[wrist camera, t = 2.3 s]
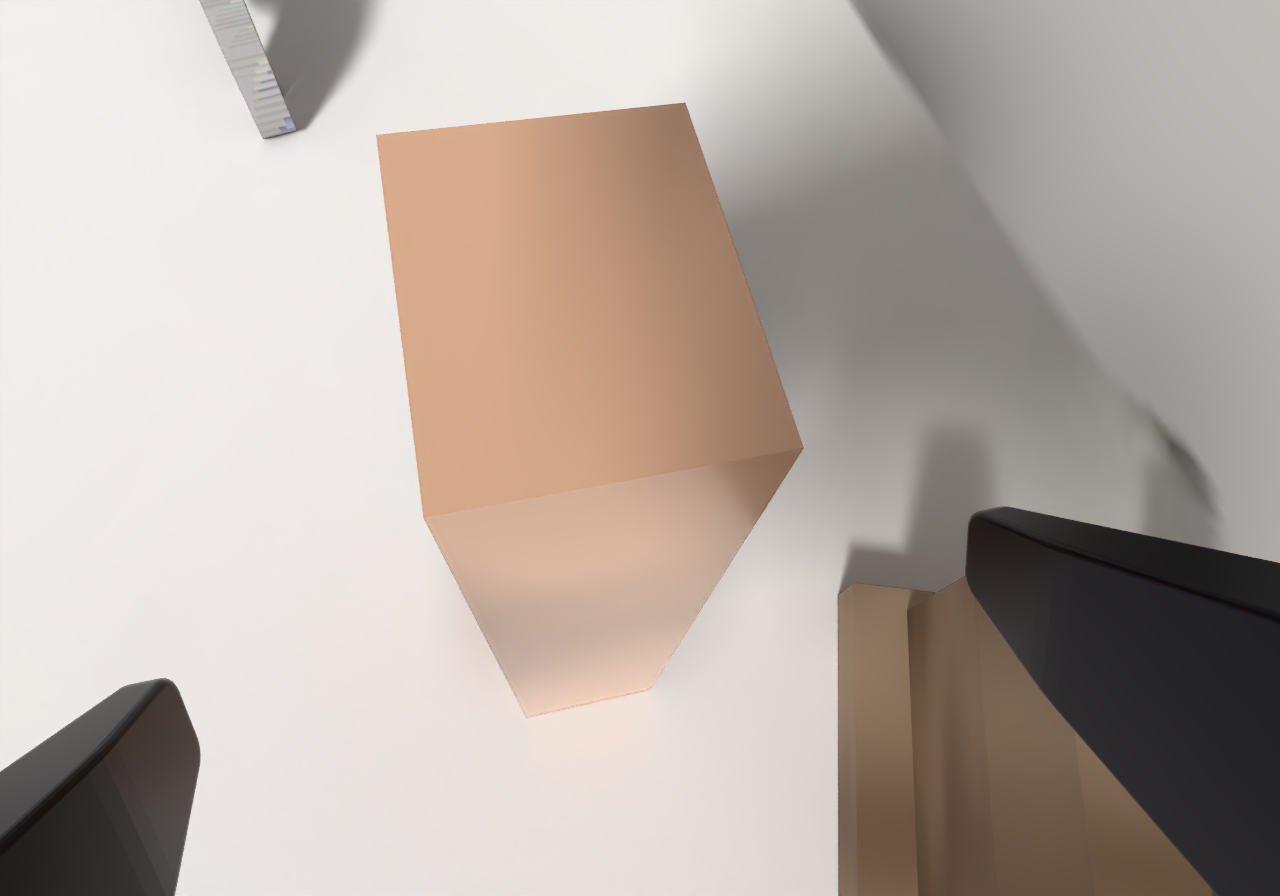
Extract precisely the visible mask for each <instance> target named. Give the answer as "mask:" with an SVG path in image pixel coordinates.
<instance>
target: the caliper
mask: <svg viewBox="0 0 1280 896" xmlns="http://www.w3.org/2000/svg"><path fill="white" fill-rule="evenodd" d="M199 1H200V3H201V6H202V8H203V10H204V12H205V15H206V17H207V19H208V21H209V23H210V26H211V28H212V30H213V32H214V35H215V37H216V39H217V41H218V43H219V46H220V48H221V50H222V52H223V55H224V57H225V59H226V61H227V63H228V65H229V67H230V70H231V72H232V74H233V76H234V78H235V80H236V82H237V85H238V87H239V89H240V91H241V93H242V95H243V97H244V100H245V102H246V104H247V106H248V108H249V110H250V112H251V115H252V117H253V119H254V121H255V123H256V125H257V127H258V129H259V132H260V134H261V136H262V138H263V139H266V138H269V137H273V136H277V135H281V134H285V133H288V132H292V131H296V128H295V125H294V123H293V121H292V118H291V116H290V113H289V111H288V108H287V106H286V104H285V101H284V98H283V95H282V93H281V90H280V88H279V85H278V83H277V80H276V78H275V75H274V73H273V70H272V68H271V65H270V63H269V61H268V58H267V56H266V53H265V51H264V48H263V46H262V43H261V41H260V38H259V36H258V34H257V31H256V29H255V26H254V24H253V21H252V19H251V16H250V14H249V11H248V9H247V7H246V4H245V2H244V0H199Z"/></svg>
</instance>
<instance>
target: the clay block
mask: <svg viewBox="0 0 1280 896" xmlns="http://www.w3.org/2000/svg"><path fill="white" fill-rule="evenodd" d="M376 137H377V145H378V153H379V161H380V169H381V178H382V186H383V194H384V202H385V210H386V218H387V226H388V234H389V242H390V250H391V258H392V266H393V274H394V283H395V291H396V299H397V307H398V315H399V323H400V331H401V339H402V347H403V355H404V363H405V371H406V379H407V388H408V396H409V404H410V412H411V420H412V428H413V436H414V444H415V452H416V460H417V468H418V476H419V484H420V493H421V501H422V509H423V517H424V520H425V521H426V523H427V525H428V527H429V529H430V531H431V533H432V535H433V537H434V539H435V541H436V543H437V545H438V547H439V549H440V551H441V553H442V555H443V557H444V558H445V560H446V562H447V564H448V566H449V568H450V570H451V572H452V574H453V576H454V578H455V580H456V582H457V584H458V586H459V588H460V590H461V592H462V594H463V595H464V597H465V599H466V601H467V603H468V605H469V607H470V609H471V611H472V613H473V615H474V617H475V619H476V621H477V623H478V625H479V627H480V629H481V631H482V632H483V634H484V636H485V638H486V640H487V642H488V644H489V646H490V648H491V650H492V652H493V654H494V656H495V658H496V660H497V662H498V664H499V666H500V667H501V669H502V671H503V673H504V675H505V677H506V679H507V681H508V683H509V685H510V687H511V689H512V691H513V693H514V695H515V697H516V699H517V701H518V703H519V704H520V706H521V708H522V710H523V712H524V714H525V716H526V718H527V717H532V716H536V715H541V714H545V713H549V712H554V711H558V710H562V709H567V708H571V707H575V706H580V705H584V704H589V703H593V702H597V701H602V700H606V699H610V698H615V697H619V696H624V695H628V694H632V693H637V692H641V691H645V690H650V689H651V687H652V686H653V684H654V682H655V681H656V679H657V678H658V676H659V675H660V673H661V671H662V670H663V668H664V667H665V665H666V664H667V662H668V660H669V659H670V657H671V656H672V654H673V653H674V651H675V649H676V648H677V646H678V645H679V643H680V642H681V640H682V638H683V637H684V635H685V634H686V632H687V631H688V629H689V627H690V626H691V624H692V623H693V621H694V620H695V618H696V616H697V615H698V613H699V612H700V610H701V609H702V607H703V605H704V604H705V602H706V601H707V599H708V598H709V596H710V594H711V593H712V591H713V590H714V588H715V587H716V585H717V583H718V582H719V580H720V579H721V577H722V576H723V574H724V572H725V571H726V569H727V568H728V566H729V565H730V563H731V561H732V560H733V558H734V557H735V555H736V554H737V552H738V550H739V549H740V547H741V546H742V544H743V543H744V541H745V539H746V538H747V536H748V535H749V533H750V532H751V530H752V528H753V527H754V525H755V524H756V522H757V521H758V519H759V517H760V516H761V514H762V513H763V511H764V510H765V508H766V506H767V505H768V503H769V502H770V500H771V498H772V497H773V495H774V494H775V492H776V491H777V489H778V487H779V486H780V484H781V483H782V481H783V480H784V478H785V476H786V475H787V473H788V472H789V470H790V469H791V467H792V465H793V464H794V462H795V461H796V459H797V458H798V456H799V454H800V453H801V451H802V450H803V445H802V442H801V439H800V436H799V434H798V431H797V428H796V425H795V422H794V419H793V416H792V413H791V410H790V407H789V404H788V401H787V398H786V396H785V393H784V390H783V387H782V384H781V381H780V378H779V375H778V372H777V369H776V366H775V363H774V360H773V358H772V355H771V352H770V349H769V346H768V343H767V340H766V337H765V334H764V331H763V328H762V325H761V322H760V320H759V317H758V314H757V311H756V308H755V305H754V302H753V299H752V296H751V293H750V290H749V287H748V285H747V282H746V279H745V276H744V273H743V270H742V267H741V264H740V261H739V258H738V255H737V252H736V249H735V247H734V244H733V241H732V238H731V235H730V232H729V229H728V226H727V223H726V220H725V217H724V214H723V211H722V209H721V206H720V203H719V200H718V197H717V194H716V191H715V188H714V185H713V182H712V179H711V176H710V174H709V171H708V168H707V165H706V162H705V159H704V156H703V153H702V150H701V147H700V144H699V141H698V138H697V136H696V133H695V130H694V127H693V124H692V121H691V118H690V115H689V112H688V109H687V106H686V103H678V104H669V105H659V106H649V107H640V108H630V109H621V110H611V111H602V112H592V113H583V114H573V115H563V116H554V117H544V118H535V119H525V120H516V121H506V122H496V123H487V124H477V125H468V126H458V127H449V128H439V129H430V130H420V131H410V132H401V133H391V134H382V135H376Z"/></svg>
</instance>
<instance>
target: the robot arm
mask: <svg viewBox="0 0 1280 896" xmlns="http://www.w3.org/2000/svg"><path fill="white" fill-rule="evenodd" d="M965 575H966V581H967V584H968V587H969V589H970V591H971V593H972V595H973V596H974V598H975V599H976V601H977V602H978V603H979V605H980V606H981V608H982V609H983V610H984V612H985V613H986V615H987V616H988V618H989V619H990V620H991V622H992V623H993V625H994V626H995V628H996V629H997V630H998V632H999V633H1000V635H1001V636H1002V637H1003V639H1004V640H1005V642H1006V643H1007V645H1008V646H1009V647H1010V649H1011V650H1012V652H1013V653H1014V654H1015V656H1016V657H1017V659H1018V660H1019V662H1020V663H1021V664H1022V666H1023V667H1024V669H1025V670H1026V672H1027V673H1028V674H1029V676H1030V677H1031V678H1032V680H1033V681H1034V682H1035V684H1036V685H1037V686H1038V688H1039V689H1040V690H1041V692H1042V693H1043V694H1044V695H1045V697H1046V698H1047V699H1048V700H1049V701H1050V703H1051V704H1052V705H1053V706H1054V708H1055V709H1056V710H1057V711H1058V712H1059V713H1060V715H1061V716H1062V717H1063V718H1064V719H1065V720H1066V722H1067V723H1068V724H1069V725H1070V726H1071V727H1072V728H1073V730H1074V731H1075V732H1076V733H1077V734H1078V735H1079V737H1080V738H1081V739H1082V740H1083V741H1084V742H1085V743H1086V745H1087V746H1088V747H1089V748H1090V749H1091V750H1092V752H1093V753H1094V754H1095V755H1096V756H1097V757H1098V759H1099V760H1100V761H1101V762H1102V763H1103V764H1104V765H1105V767H1106V768H1107V769H1108V770H1109V771H1110V772H1111V774H1112V775H1113V776H1114V777H1115V778H1116V779H1117V780H1118V782H1119V783H1120V784H1121V785H1122V786H1123V787H1124V789H1125V790H1126V791H1127V792H1128V793H1129V794H1130V796H1131V797H1132V798H1133V799H1134V800H1135V801H1136V802H1137V804H1138V805H1139V806H1140V807H1141V808H1142V809H1143V811H1144V812H1145V813H1146V814H1147V815H1148V816H1149V817H1150V819H1151V820H1152V821H1153V822H1154V823H1155V824H1156V826H1157V827H1158V828H1159V829H1160V830H1161V831H1162V833H1163V834H1164V835H1165V836H1166V837H1167V838H1168V839H1169V841H1170V842H1171V843H1172V844H1173V845H1174V846H1175V848H1176V849H1177V850H1178V851H1179V852H1180V853H1181V854H1182V856H1183V857H1184V858H1185V859H1186V860H1187V861H1188V863H1189V864H1190V865H1191V866H1192V867H1193V868H1194V870H1195V871H1196V872H1197V873H1198V874H1199V875H1200V876H1201V878H1202V879H1203V880H1204V881H1205V882H1206V883H1207V885H1208V886H1209V887H1210V888H1211V889H1212V890H1213V891H1214V893H1215V894H1216V895H1217V896H1280V563H1277V562H1272V561H1267V560H1263V559H1258V558H1252V557H1248V556H1243V555H1239V554H1234V553H1229V552H1224V551H1219V550H1214V549H1210V548H1205V547H1200V546H1195V545H1190V544H1186V543H1181V542H1176V541H1171V540H1166V539H1161V538H1157V537H1152V536H1147V535H1142V534H1137V533H1133V532H1128V531H1123V530H1118V529H1113V528H1108V527H1104V526H1099V525H1094V524H1089V523H1084V522H1080V521H1075V520H1070V519H1065V518H1060V517H1055V516H1051V515H1046V514H1041V513H1036V512H1031V511H1027V510H1022V509H1017V508H1012V507H998V508H993V509H988V510H983V511H979V512H976V513H975V514H974V515H973V516H972V517H971V518H970V520H969V523H968V533H967V550H966V566H965ZM199 767H200V746H199V741H198V738H197V735H196V733H195V730H194V728H193V725H192V723H191V720H190V718H189V715H188V713H187V710H186V708H185V705H184V702H183V700H182V697H181V695H180V692H179V690H178V688H177V686H176V685H175V684H174V683H173V681H171V680H169V679H166V678H160V679H155V680H150V681H145V682H140V683H135V684H130V685H127V686H124V687H122V688H121V689H119V690H118V691H116V692H115V693H113V694H112V695H110V696H109V697H107V698H106V699H105V700H103V701H102V702H100V703H99V704H97V705H96V706H94V707H93V708H92V709H90V710H89V711H87V712H86V713H84V714H83V715H81V716H80V717H79V718H77V719H76V720H74V721H73V722H71V723H70V724H68V725H67V726H66V727H64V728H63V729H61V730H60V731H58V732H57V733H55V734H54V735H53V736H51V737H50V738H48V739H47V740H45V741H44V742H42V743H41V744H40V745H38V746H37V747H35V748H34V749H32V750H31V751H29V752H28V753H27V754H25V755H24V756H22V757H21V758H19V759H18V760H16V761H15V762H14V763H12V764H11V765H9V766H8V767H6V768H5V769H3V770H2V771H1V772H0V896H175V891H176V887H177V882H178V877H179V872H180V867H181V861H182V856H183V851H184V846H185V840H186V835H187V830H188V825H189V819H190V814H191V809H192V804H193V798H194V793H195V788H196V783H197V777H198V772H199Z"/></svg>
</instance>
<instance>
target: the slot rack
mask: <svg viewBox="0 0 1280 896" xmlns="http://www.w3.org/2000/svg"><path fill="white" fill-rule="evenodd" d="M838 847H839V896H1217V895H1216V894H1215V893H1214V891H1213V890H1212V889H1211V888H1210V887H1209V886H1208V885H1207V883H1206V882H1205V881H1204V880H1203V879H1202V878H1201V876H1200V875H1199V874H1198V873H1197V872H1196V871H1195V870H1194V868H1193V867H1192V866H1191V865H1190V864H1189V863H1188V861H1187V860H1186V859H1185V858H1184V857H1183V856H1182V854H1181V853H1180V852H1179V851H1178V850H1177V849H1176V848H1175V846H1174V845H1173V844H1172V843H1171V842H1170V841H1169V839H1168V838H1167V837H1166V836H1165V835H1164V834H1163V833H1162V831H1161V830H1160V829H1159V828H1158V827H1157V826H1156V824H1155V823H1154V822H1153V821H1152V820H1151V819H1150V817H1149V816H1148V815H1147V814H1146V813H1145V812H1144V811H1143V809H1142V808H1141V807H1140V806H1139V805H1138V804H1137V802H1136V801H1135V800H1134V799H1133V798H1132V797H1131V796H1130V794H1129V793H1128V792H1127V791H1126V790H1125V789H1124V787H1123V786H1122V785H1121V784H1120V783H1119V782H1118V780H1117V779H1116V778H1115V777H1114V776H1113V775H1112V774H1111V772H1110V771H1109V770H1108V769H1107V768H1106V767H1105V765H1104V764H1103V763H1102V762H1101V761H1100V760H1099V759H1098V757H1097V756H1096V755H1095V754H1094V753H1093V752H1092V750H1091V749H1090V748H1089V747H1088V746H1087V745H1086V743H1085V742H1084V741H1083V740H1082V739H1081V738H1080V737H1079V735H1078V734H1077V733H1076V732H1075V731H1074V730H1073V728H1072V727H1071V726H1070V725H1069V724H1068V723H1067V722H1066V720H1065V719H1064V718H1063V717H1062V716H1061V715H1060V713H1059V712H1058V711H1057V710H1056V709H1055V708H1054V706H1053V705H1052V704H1051V703H1050V701H1049V700H1048V699H1047V698H1046V697H1045V695H1044V694H1043V693H1042V692H1041V690H1040V689H1039V688H1038V686H1037V685H1036V684H1035V682H1034V681H1033V680H1032V678H1031V677H1030V676H1029V674H1028V673H1027V672H1026V670H1025V669H1024V667H1023V666H1022V664H1021V663H1020V662H1019V660H1018V659H1017V657H1016V656H1015V654H1014V653H1013V652H1012V650H1011V649H1010V647H1009V646H1008V645H1007V643H1006V642H1005V640H1004V639H1003V637H1002V636H1001V635H1000V633H999V632H998V630H997V629H996V628H995V626H994V625H993V623H992V622H991V620H990V619H989V618H988V616H987V615H986V613H985V612H984V610H983V609H982V608H981V606H980V605H979V603H978V602H977V601H976V599H975V598H974V596H973V595H972V593H971V591H970V589H969V587H968V584H967V581H966V576H964V577H963V578H961V579H959V580H957V581H956V582H954V583H952V584H951V585H949V586H947V587H946V588H944V589H942V590H941V591H939V592H937V593H934V592H926V591H918V590H910V589H902V588H894V587H886V586H878V585H870V584H862V583H853V584H852V585H850V586H849V587H848V588H847V589H845V590H844V591H843V592H842V593H841V594H839V595H838Z"/></svg>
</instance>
